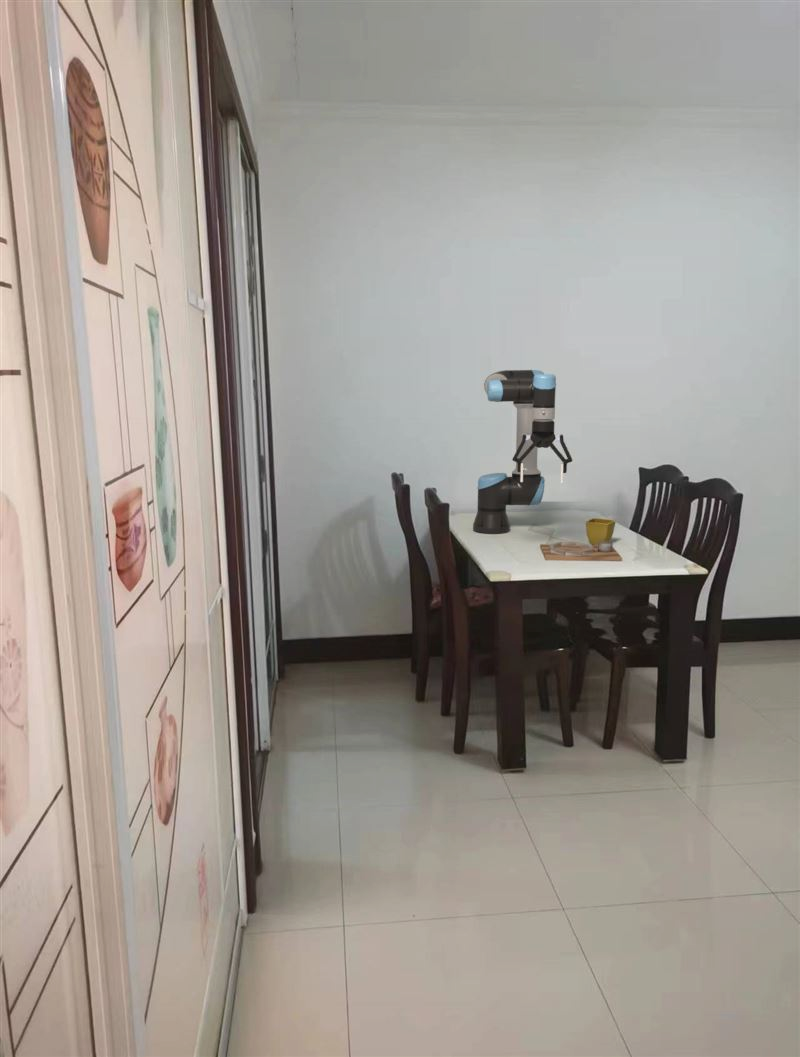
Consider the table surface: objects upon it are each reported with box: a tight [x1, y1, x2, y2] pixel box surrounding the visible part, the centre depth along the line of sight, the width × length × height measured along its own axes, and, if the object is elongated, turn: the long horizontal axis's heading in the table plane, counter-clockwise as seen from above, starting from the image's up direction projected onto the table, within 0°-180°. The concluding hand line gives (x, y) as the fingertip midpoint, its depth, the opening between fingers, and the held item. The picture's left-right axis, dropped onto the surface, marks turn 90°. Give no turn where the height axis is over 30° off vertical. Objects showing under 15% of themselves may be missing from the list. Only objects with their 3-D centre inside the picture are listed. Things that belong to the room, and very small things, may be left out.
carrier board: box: [539, 541, 623, 562], centre depth 285 cm, size 20×26×4 cm
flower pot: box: [585, 517, 616, 545], centre depth 300 cm, size 9×9×9 cm
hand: (541, 482), depth 275 cm, fingers open, 13 cm apart
